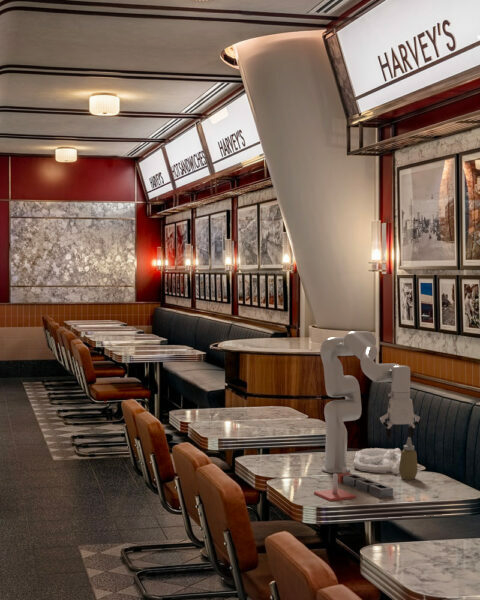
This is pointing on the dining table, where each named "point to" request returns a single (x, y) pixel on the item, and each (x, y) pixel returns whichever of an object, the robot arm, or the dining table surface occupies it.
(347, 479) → the link
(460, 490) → the dining table surface
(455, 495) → the dining table surface
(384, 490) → the end link
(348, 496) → the keeper
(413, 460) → the squeeze bottle
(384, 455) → the pretzel
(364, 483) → the link
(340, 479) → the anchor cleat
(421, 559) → the dining table surface
